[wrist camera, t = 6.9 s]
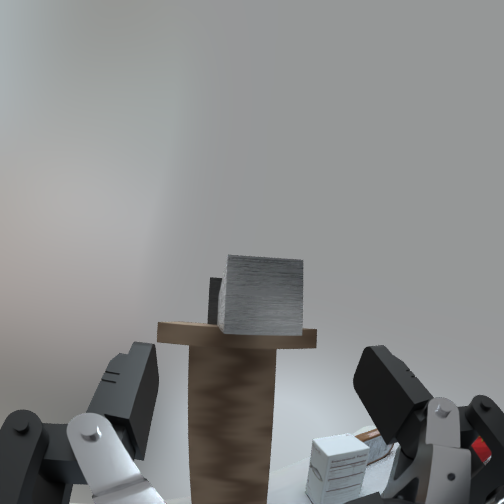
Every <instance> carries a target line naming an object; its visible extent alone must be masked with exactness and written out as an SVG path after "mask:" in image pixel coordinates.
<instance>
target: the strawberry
mask: <svg viewBox="0 0 504 504" xmlns="http://www.w3.org/2000/svg"><path fill="white" fill-rule="evenodd" d="M471 446H472V447H473V449H474V450H475V452H476V453H477V455H478V456H479V458H480V459H481V461H482V462H484V461H485V460H487V459H488V458H489V457H490V456H491V451H490V449H489V448H488V446H487V445H486V444H485V442H484V441H483V439H482V438H481V437H480V436H479V437H478V438H477V439H476V440H475V442H474V443H473V444H472V445H471Z"/></svg>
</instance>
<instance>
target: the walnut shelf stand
mask: <svg viewBox="0 0 504 504" xmlns="http://www.w3.org/2000/svg"><path fill="white" fill-rule="evenodd" d="M157 342H161V343H171V344H180V345H189V370H188V439H189V468H190V484H191V485H190V486H191V501H192V504H267V493H268V481H269V469H270V456H271V441H272V427H273V409H274V392H275V391H274V390H275V372H276V350H277V349H303V348H316V342H317V329H304V328H302V336H274V335H238V334H224V333H223V332H222V331H221V330H220V328H219V327H218V326H217V325H210V324H205V323H192V322H158V330H157Z"/></svg>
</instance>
